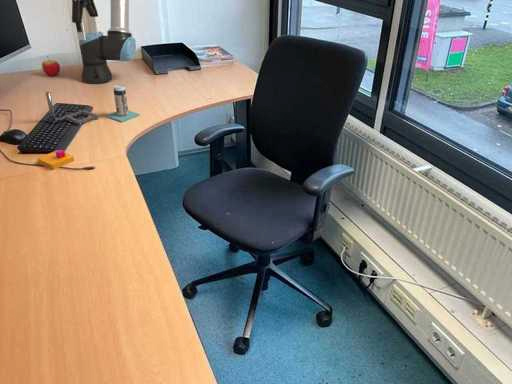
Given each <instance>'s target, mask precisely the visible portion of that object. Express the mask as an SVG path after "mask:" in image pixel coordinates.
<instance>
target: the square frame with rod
mask: <svg viewBox="0 0 512 384" xmlns="http://www.w3.org/2000/svg"><path fill="white" fill-rule="evenodd" d="M45 96H46V101H47V105H48V109H49V114H50V115H49V116H50V119H55V120H57V121H58V120H62V121H64V120H63V119H65V120H66V119H69V121H70V122H73V123H76V124H78V126H83V123H84V124H85V123H87V122H89V121H91V120H92V121H93V120H96V121H97V120H99V115H98V114H96V113H93V112H90V111H88V110H84V109H82V110H80V111H76V112H73V113H71V114H68V115H64V116H62V117H57V116H56V113H55V109H54V105H53V100H52V96H51V92H50V91H46V92H45ZM82 114H84V115H83V116H88V117H84V118H82V119H77V118H75V117H78V116H80V115H81V116H82ZM77 115H78V116H77ZM73 116H75V117H73ZM58 118H59V119H58Z"/></svg>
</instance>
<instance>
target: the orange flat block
mask: <svg viewBox="0 0 512 384" xmlns="http://www.w3.org/2000/svg"><path fill="white" fill-rule="evenodd" d="M36 160H37V163H38V164H40V165H42V166H44V167H46V168H48V169H50V170H52V171H53V170H56V169H58V168H60V167H61V168H62V167H63V166H65V165H68V164H70V163H72V162H74V161H75V159H74V155H71V154H69V153H67V152H65V150H62V149H58V150H55V151H52V152H50V153H48V154H45V155H42V156H39V157H37V158H36Z"/></svg>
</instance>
